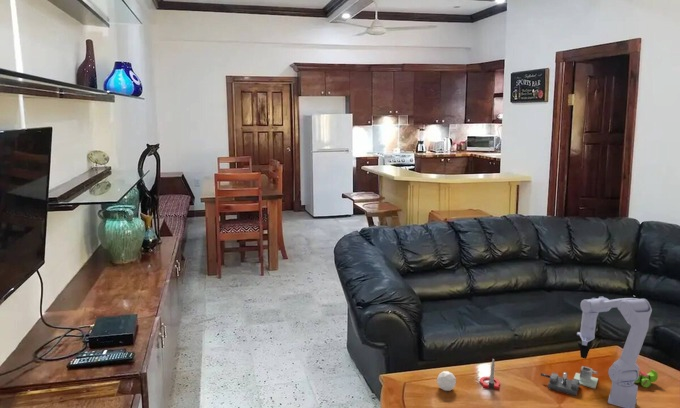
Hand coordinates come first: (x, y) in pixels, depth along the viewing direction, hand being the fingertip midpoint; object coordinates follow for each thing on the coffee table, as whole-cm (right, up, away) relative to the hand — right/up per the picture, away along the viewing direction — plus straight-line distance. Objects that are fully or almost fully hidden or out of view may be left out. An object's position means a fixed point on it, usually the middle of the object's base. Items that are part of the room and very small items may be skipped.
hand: (584, 354), depth 231 cm
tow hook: (-44, -10, -8) cm, 46 cm away
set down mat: (-2, -10, -4) cm, 11 cm away
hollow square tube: (-1, -10, -5) cm, 11 cm away
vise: (-15, -11, -9) cm, 21 cm away
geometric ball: (-64, -11, -13) cm, 66 cm away
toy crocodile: (+19, -11, -4) cm, 22 cm away
